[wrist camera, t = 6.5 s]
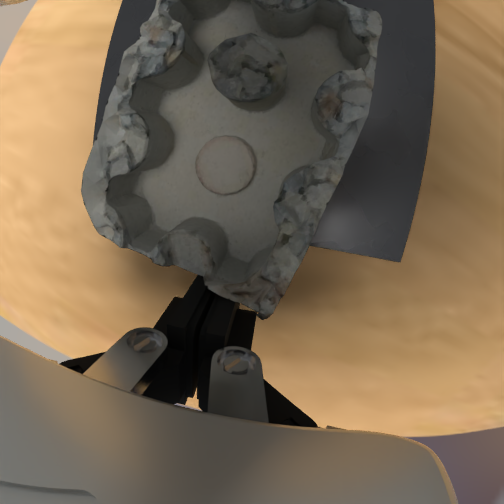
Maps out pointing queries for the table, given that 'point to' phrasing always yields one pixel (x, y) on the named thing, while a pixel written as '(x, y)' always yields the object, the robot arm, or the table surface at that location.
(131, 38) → the press frame
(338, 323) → the table surface
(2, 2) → the disc
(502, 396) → the table surface
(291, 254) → the egg carton
